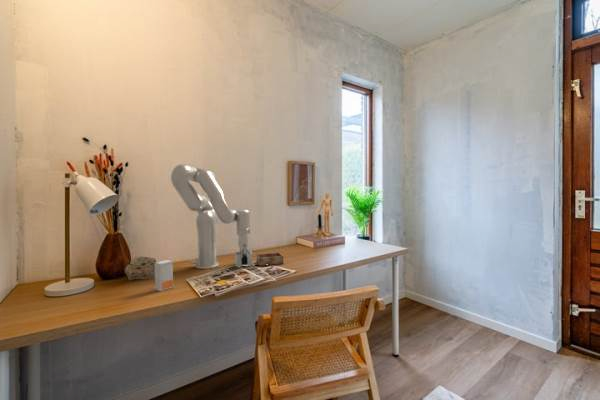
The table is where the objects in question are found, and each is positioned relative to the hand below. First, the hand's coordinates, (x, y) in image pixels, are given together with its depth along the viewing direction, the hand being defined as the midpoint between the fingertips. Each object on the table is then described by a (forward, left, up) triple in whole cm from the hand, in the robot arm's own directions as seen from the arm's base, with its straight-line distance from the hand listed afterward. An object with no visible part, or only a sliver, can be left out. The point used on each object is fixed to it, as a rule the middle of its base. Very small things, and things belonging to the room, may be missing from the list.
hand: (243, 262), depth 157 cm
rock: (-52, -2, -2) cm, 52 cm away
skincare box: (-37, -27, -2) cm, 46 cm away
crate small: (0, 0, -2) cm, 2 cm away
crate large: (+15, 0, -2) cm, 15 cm away
